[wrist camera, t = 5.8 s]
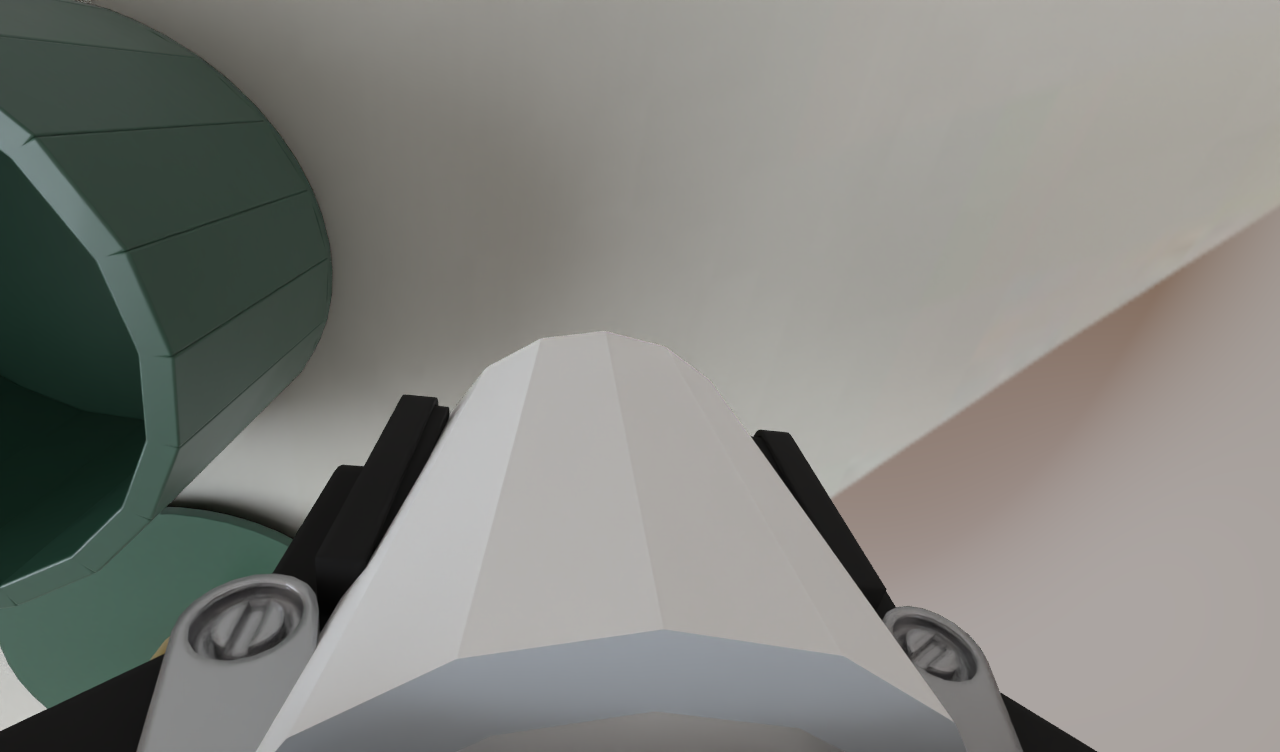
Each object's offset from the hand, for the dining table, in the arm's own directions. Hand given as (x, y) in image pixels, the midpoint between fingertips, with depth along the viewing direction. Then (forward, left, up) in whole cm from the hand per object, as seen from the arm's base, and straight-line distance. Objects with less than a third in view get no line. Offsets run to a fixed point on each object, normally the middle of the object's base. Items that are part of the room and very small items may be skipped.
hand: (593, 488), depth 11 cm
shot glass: (0, 0, -1) cm, 1 cm away
